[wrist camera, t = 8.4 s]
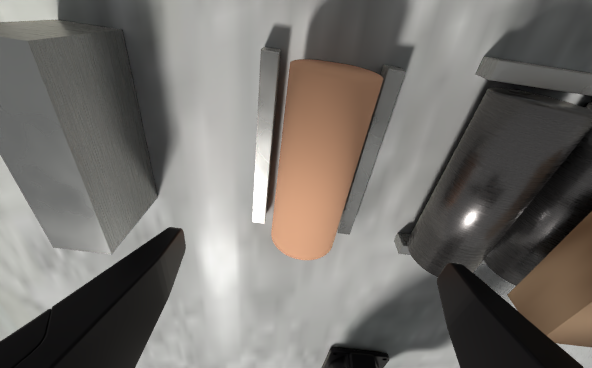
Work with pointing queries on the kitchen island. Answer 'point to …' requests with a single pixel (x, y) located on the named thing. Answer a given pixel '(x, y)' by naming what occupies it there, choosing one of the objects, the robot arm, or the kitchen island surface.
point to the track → (477, 170)
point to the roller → (320, 152)
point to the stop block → (74, 131)
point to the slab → (561, 290)
